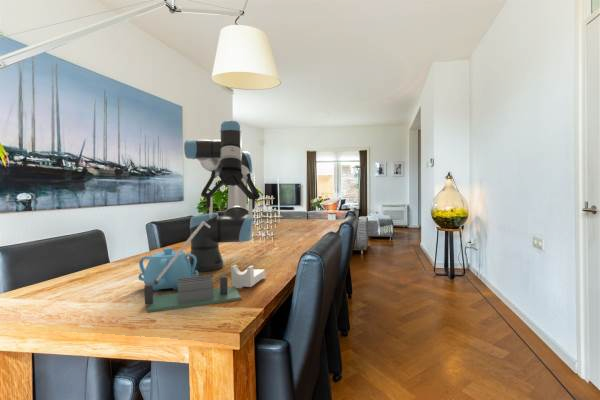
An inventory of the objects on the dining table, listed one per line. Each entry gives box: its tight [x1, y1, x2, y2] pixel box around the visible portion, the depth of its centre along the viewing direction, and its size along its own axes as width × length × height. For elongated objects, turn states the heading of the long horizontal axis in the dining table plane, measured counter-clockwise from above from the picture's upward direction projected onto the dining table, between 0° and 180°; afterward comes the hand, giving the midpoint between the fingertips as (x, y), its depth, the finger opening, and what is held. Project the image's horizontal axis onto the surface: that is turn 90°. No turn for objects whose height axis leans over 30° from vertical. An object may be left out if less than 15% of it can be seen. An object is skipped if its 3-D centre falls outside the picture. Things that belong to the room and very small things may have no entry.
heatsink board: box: [144, 274, 242, 313], centre depth 100 cm, size 12×27×6 cm, turn 111°
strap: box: [153, 221, 210, 284], centre depth 99 cm, size 3×23×3 cm
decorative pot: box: [138, 247, 199, 292], centre depth 114 cm, size 16×16×14 cm
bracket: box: [230, 264, 266, 289], centre depth 117 cm, size 13×7×8 cm, turn 164°
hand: (231, 217), depth 112 cm, fingers open, 13 cm apart
